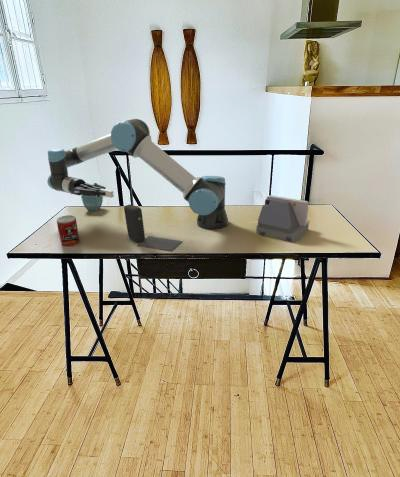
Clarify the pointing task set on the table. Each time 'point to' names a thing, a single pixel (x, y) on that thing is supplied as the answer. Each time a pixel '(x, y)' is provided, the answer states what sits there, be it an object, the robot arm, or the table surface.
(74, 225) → the canned food
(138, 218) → the card reader
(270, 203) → the grey tapered box
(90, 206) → the flower pot
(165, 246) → the mat
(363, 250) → the table surface
